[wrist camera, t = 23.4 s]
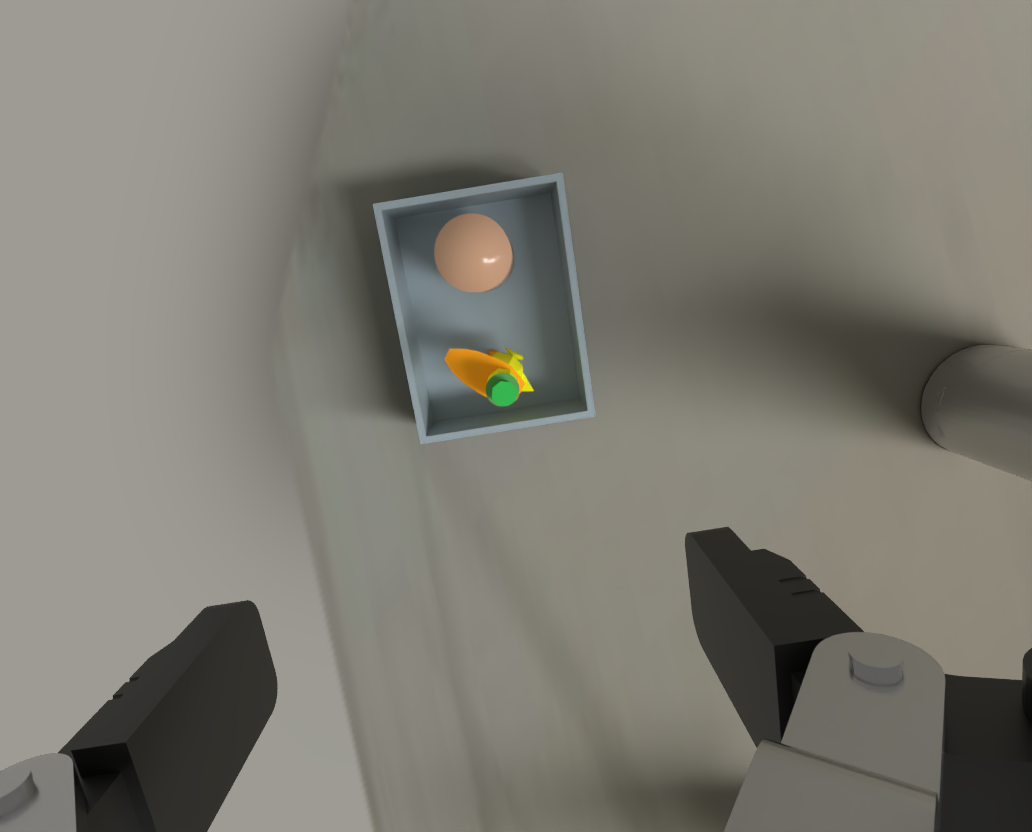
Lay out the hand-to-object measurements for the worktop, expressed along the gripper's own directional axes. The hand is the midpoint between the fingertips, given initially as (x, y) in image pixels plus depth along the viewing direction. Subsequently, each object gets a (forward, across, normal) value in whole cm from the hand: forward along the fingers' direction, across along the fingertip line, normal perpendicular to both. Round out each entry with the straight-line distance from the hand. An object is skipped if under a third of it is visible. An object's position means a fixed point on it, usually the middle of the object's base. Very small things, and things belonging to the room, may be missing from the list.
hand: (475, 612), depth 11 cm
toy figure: (+38, 0, 0) cm, 38 cm away
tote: (+38, 0, -4) cm, 38 cm away
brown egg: (+38, 0, -8) cm, 38 cm away
